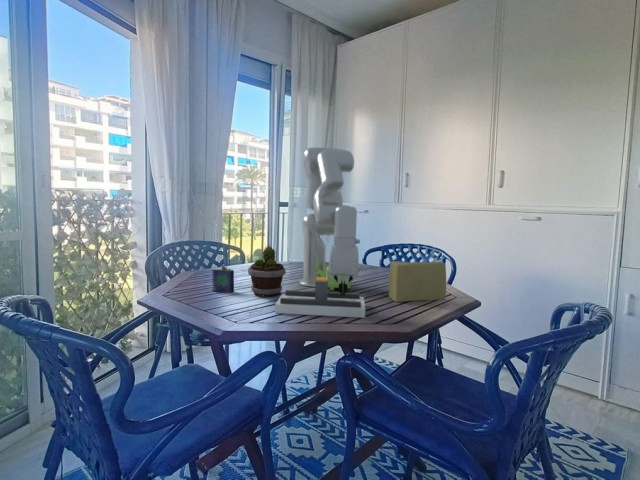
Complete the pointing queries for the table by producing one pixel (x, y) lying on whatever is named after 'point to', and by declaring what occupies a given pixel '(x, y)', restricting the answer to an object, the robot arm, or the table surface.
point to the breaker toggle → (321, 288)
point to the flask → (223, 279)
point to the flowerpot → (266, 274)
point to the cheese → (417, 281)
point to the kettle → (331, 281)
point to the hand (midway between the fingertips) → (342, 294)
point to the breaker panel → (320, 308)
